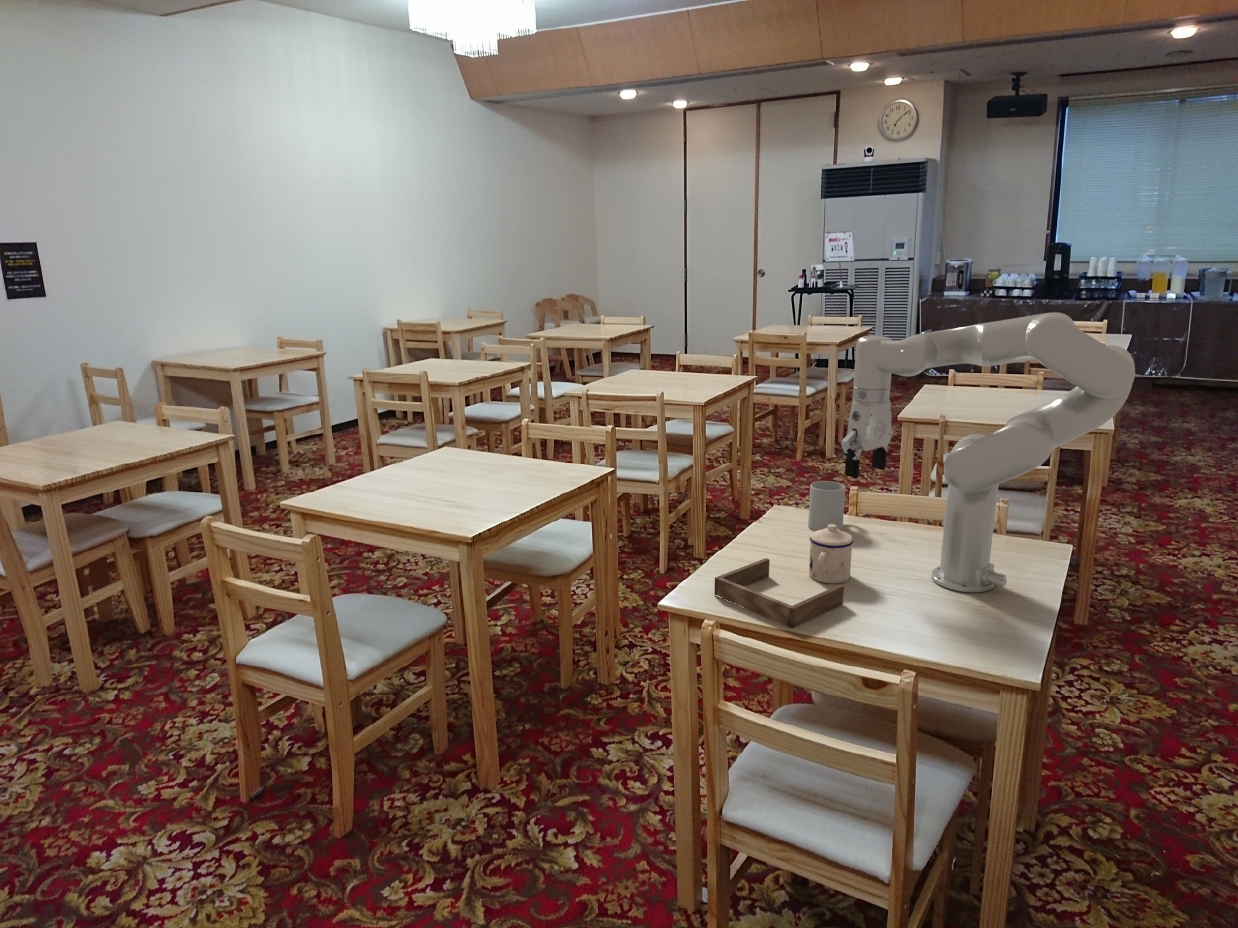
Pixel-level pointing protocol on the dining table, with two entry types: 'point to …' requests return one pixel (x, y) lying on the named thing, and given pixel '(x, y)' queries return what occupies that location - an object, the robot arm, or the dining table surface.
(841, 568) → the teacup with lid
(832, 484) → the mug
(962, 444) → the robot arm
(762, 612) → the box
